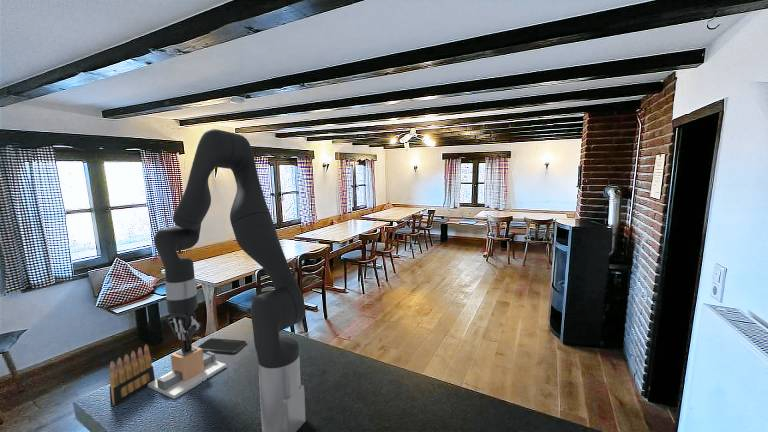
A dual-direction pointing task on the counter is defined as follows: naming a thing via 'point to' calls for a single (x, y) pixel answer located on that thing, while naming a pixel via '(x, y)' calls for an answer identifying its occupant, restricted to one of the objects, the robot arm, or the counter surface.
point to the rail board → (176, 387)
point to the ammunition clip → (130, 376)
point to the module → (188, 362)
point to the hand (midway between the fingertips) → (186, 350)
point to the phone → (222, 346)
